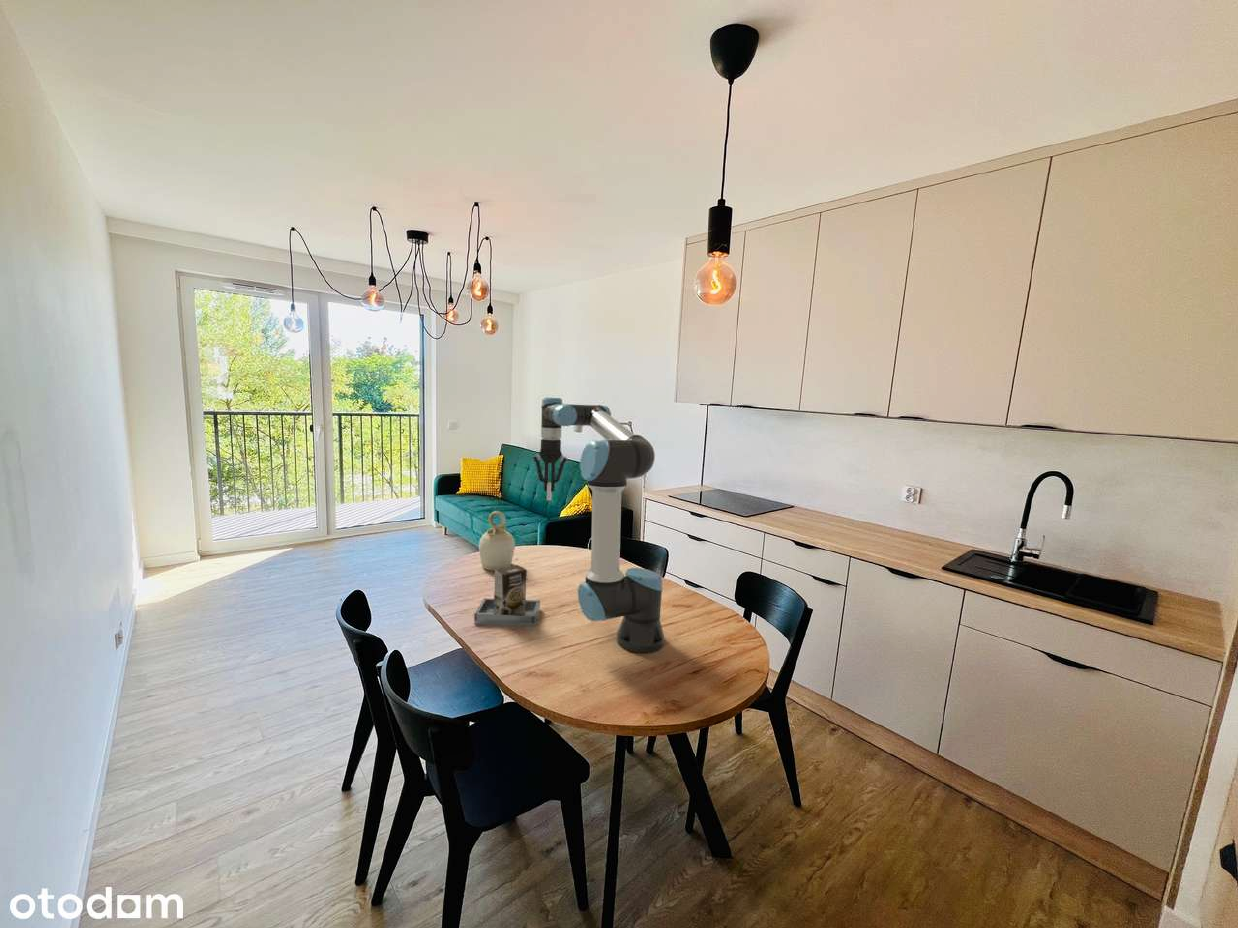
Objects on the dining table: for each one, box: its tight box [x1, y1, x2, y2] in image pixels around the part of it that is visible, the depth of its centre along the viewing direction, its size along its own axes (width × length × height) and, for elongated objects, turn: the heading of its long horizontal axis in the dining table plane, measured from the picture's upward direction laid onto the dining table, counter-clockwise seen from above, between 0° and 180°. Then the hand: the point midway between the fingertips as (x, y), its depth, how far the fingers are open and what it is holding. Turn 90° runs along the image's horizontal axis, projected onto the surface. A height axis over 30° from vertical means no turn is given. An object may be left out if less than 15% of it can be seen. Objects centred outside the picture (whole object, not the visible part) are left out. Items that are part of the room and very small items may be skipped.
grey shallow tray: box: [473, 597, 541, 627], centre depth 171 cm, size 20×12×4 cm, turn 91°
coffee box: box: [493, 564, 528, 615], centre depth 170 cm, size 9×6×16 cm
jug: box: [478, 510, 516, 572], centre depth 217 cm, size 15×16×25 cm
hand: (549, 499), depth 191 cm, fingers closed
